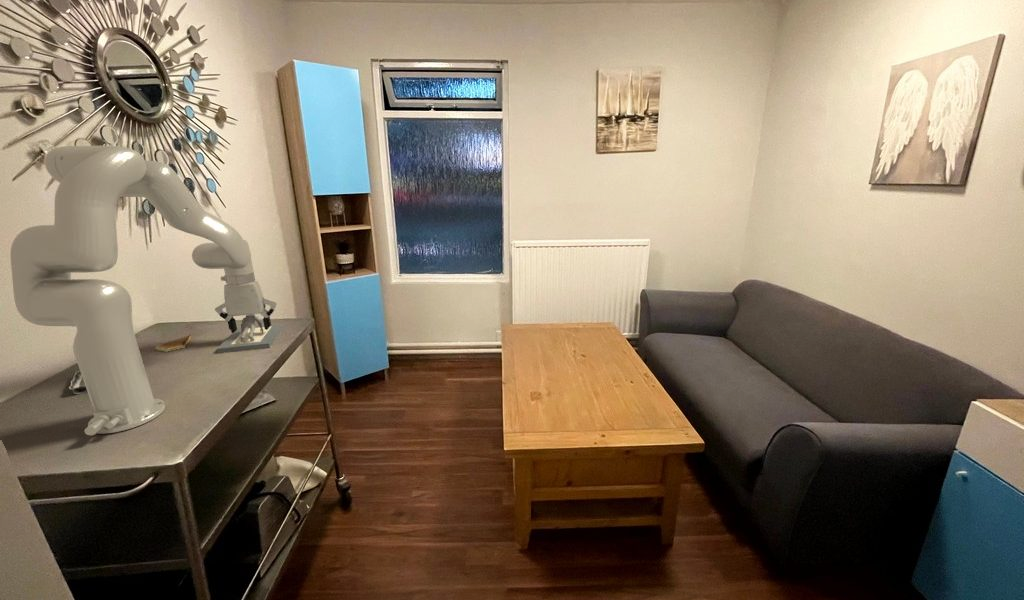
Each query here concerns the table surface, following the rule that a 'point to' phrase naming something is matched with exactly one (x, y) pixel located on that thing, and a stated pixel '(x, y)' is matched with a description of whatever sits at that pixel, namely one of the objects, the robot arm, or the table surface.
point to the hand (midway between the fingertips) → (251, 329)
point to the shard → (174, 344)
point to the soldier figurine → (249, 326)
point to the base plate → (260, 339)
